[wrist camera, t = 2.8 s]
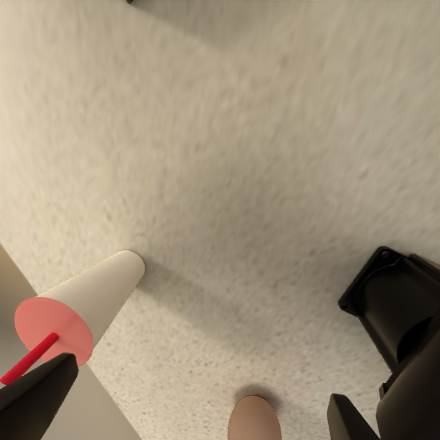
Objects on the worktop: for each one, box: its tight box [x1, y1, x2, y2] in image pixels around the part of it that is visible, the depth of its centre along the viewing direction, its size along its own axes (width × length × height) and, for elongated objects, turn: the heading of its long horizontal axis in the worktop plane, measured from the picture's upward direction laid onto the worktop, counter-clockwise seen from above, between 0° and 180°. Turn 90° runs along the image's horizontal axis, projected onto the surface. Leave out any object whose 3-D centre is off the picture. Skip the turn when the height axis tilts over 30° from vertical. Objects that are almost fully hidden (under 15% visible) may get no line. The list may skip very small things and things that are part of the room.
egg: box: [228, 396, 282, 440], centre depth 22 cm, size 5×5×7 cm
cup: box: [0, 250, 145, 385], centre depth 17 cm, size 5×5×12 cm
